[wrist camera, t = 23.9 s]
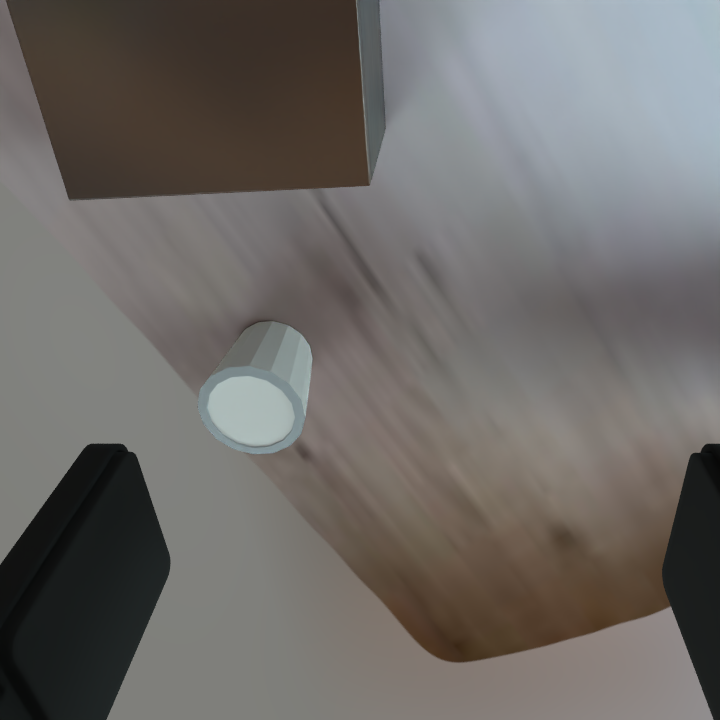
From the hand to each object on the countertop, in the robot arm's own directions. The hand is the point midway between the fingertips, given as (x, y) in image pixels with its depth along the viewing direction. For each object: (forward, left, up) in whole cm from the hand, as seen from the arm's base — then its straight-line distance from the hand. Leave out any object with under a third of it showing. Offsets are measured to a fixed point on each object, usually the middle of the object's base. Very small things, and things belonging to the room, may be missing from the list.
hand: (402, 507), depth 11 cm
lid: (+9, -8, -20) cm, 23 cm away
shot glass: (+11, +15, -31) cm, 36 cm away
